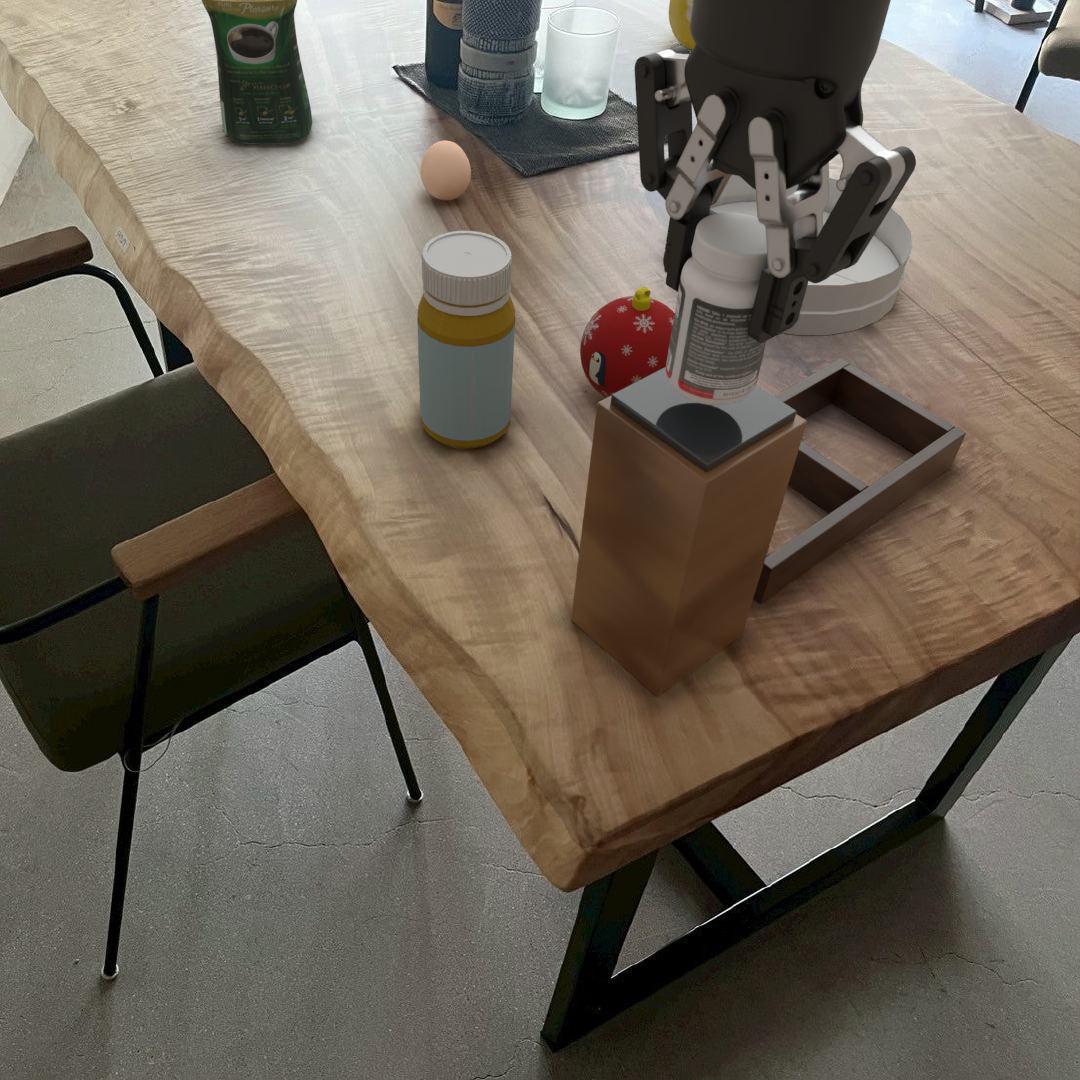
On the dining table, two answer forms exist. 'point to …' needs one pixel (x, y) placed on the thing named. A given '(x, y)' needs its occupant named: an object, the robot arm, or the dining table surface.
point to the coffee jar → (259, 71)
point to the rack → (840, 489)
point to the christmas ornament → (626, 342)
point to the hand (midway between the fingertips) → (725, 307)
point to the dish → (849, 291)
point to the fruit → (681, 21)
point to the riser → (673, 545)
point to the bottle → (466, 339)
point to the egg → (445, 170)
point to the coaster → (701, 419)
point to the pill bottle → (718, 312)
